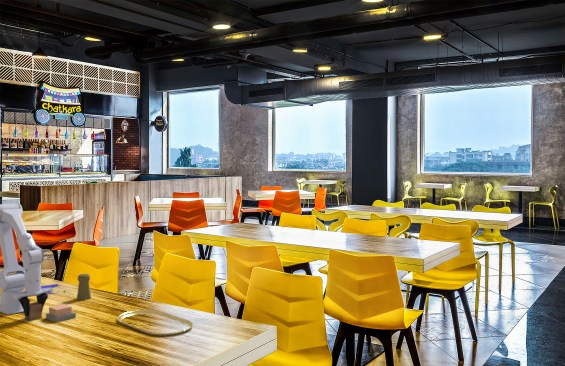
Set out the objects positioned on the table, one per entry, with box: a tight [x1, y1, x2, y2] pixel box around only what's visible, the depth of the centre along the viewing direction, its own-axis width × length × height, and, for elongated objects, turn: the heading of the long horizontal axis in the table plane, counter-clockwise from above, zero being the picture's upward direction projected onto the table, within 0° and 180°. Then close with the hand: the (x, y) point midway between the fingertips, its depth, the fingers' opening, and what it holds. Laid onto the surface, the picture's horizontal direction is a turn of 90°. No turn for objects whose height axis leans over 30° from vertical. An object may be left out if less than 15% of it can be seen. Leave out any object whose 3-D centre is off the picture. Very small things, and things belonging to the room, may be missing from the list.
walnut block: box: [24, 301, 43, 321], centre depth 210 cm, size 4×4×6 cm
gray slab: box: [45, 311, 77, 323], centre depth 210 cm, size 8×8×2 cm
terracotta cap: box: [48, 303, 73, 316], centre depth 210 cm, size 6×6×2 cm
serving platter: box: [117, 309, 194, 337], centre depth 204 cm, size 19×35×2 cm, turn 48°
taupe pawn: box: [76, 273, 92, 301], centre depth 241 cm, size 6×6×11 cm
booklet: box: [41, 283, 60, 296], centre depth 254 cm, size 12×25×1 cm, turn 41°
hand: (33, 314), depth 210 cm, fingers closed on walnut block, 4 cm apart
